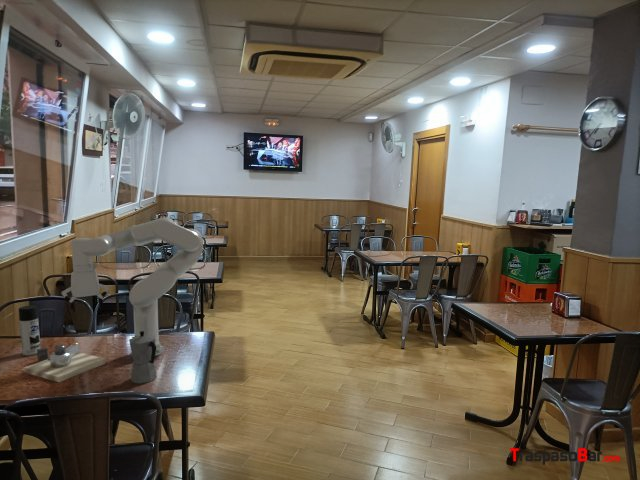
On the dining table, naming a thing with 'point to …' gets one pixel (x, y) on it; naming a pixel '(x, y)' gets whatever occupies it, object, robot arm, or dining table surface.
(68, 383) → the dining table surface
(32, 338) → the spray can
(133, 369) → the coffeepot
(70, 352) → the crank
